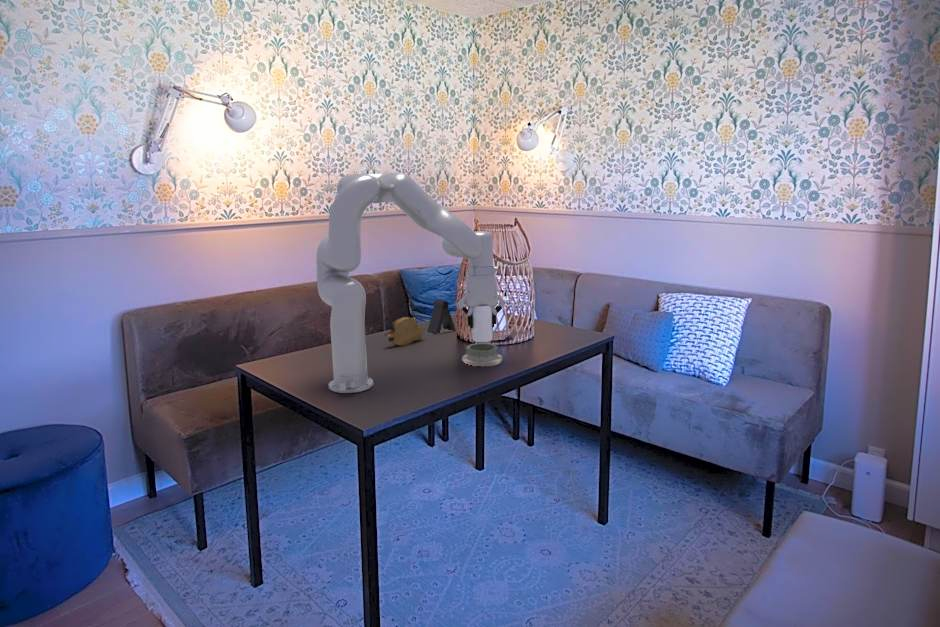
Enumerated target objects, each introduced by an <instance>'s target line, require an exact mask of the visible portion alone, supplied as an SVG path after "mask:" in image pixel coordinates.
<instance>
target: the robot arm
mask: <svg viewBox="0 0 940 627" xmlns="http://www.w3.org/2000/svg"><path fill="white" fill-rule="evenodd" d="M336 192H337V195H336V196H335V198H334V200H333V202H332V204H331V207H330V210H329V213H328V214H329V215H328V236H326V237H325V238H323V239H322V240H321V241H320V243H319V244H318V247H317V248H316V249H317V250H316V257H315V258H316V282H317V283H316V284H317V286H316V287H317V294H318V296H319V297H320V299H321V300H322V302H323V303H325V304H326V305H327V306H330V307H331V310H330V311H331V313H330V320H329V321H330V322H329V324H330V325H329V327H330V328H329V330H330V340H331V357H332V359H331V360H332V372H333V379H332V380H331V381H329V382H328V389H329V390H330V391H332V392H333V393H339V394H353V393H360V392H364V391H367V390H369V389H371V388H372V387H373V386H374V379H373V378H371V377H368V362H367V357H368V356H367V342H366V341H367V340H366V338H367V337H366V320H365V317H366V316H365V315H366V314H365V313H366V305H367V295H366V294H367V293H366V289H365V288H364V286H363V285H362V283H361V282H359V281H358V280H357V279H355V278H353V277H350V272H353V271H355V270H356V269H358V267H359V265H360V264H361V261H362V260H361V259H362V246H361V243H362V242H361V226H362V225H361V224H362V223H361V222H362V217H363V214H364V213H365V211H366V209H368V208H369V206H370V205H372V204H379V203H380V204H381V203H393V204H394V205H396V207H397V208H399V209H400V210H401V211H402V212H403V213H404V214H405V215H406V216H407V217H409V218H410V219H411V220H412V221H413V222H414V223H415V224H416V225H417V226H418V227H420V228H422V229H423V230H426V231H427V232H430V233H432V234H435V235H437V236H439V237H440V238H443V239H442V242H441V246H442V247H441V248H442V250H443V251H444V252H445V253H446V254H447V255H449V256H452V257H456V258H461V259H465V260H468V274H467V275H466V278H465V288H464V290H465V291H464V295H463V297H462V298H461V299H460V300H458V302H457V303H456V305H457V308H459V309H460V310H461V311H463V313H464V314H466V316H467V326H469V327H470V329H472V328H473V316H472V311H473V309H474V307H477V305H479V306H484V305H488V306H489V307H491V309H492V327H494V324H496V315H497V313H498V312H499V311H500V310H501V309H502V307H503V308H504V307H505V306H506V304H507V301H506V300H504V299H503V297H501V296H500V294H499V293H498V284H497V277H496V274H495V272H498V270H499V269H498V266H494V247H493V246H494V242H493V240H494V238H493V233H492V232H491V231H488V230H487V231H486V230H478V231H477V230H476V231H474V230H473V229H471V227H470V226H469V225H468V224H466V223H465V221H463V220H461V218H459V217H458V216H457V215H454V214H453V213H452V212H450V211H449V210H448V209H446V207H445V208H444V207H443V206H442V205H440V204H439V203H438V202H437V201H436V200H434V198H433V197H431V196H430V195H429V193H427V192H426V190H424V189H423V188H422V187H421V186H420V185H419V184H418V183H417V182H416V181H415V180H414V179H413V178H412V177H411V176H409V175H407V174H406V173H404V172H383V173H382V172H381V173H380V172H379V173H348V174H346V175H344V176H342V177H341V178H340V179H339V180H338V183H337V185H336ZM464 303H465V304H466V306H467V307H466V306H465V305H464ZM498 303H500V304H499V305H498V306H497V307H496V308H495V307H494V306H496V305H497V304H498Z"/></svg>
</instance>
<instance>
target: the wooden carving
mask: <svg viewBox="0 0 940 627" xmlns="http://www.w3.org/2000/svg"><path fill="white" fill-rule="evenodd" d="M418 324H419V323H418V320H417V318H416V317H414V316H412V317H409V316H403V317H400V318H398V319H396V320H395V321H392V322H391V324H390V331H389V332H386V333H385V332H384V336H386V337H388V339H387V340H388V341H389V342H390V343H391V344H394V345H397V346H400V347H401V346H403V345H404V346H407V345H410V344H411V343H413V342H414V341H415V340H416V341H417V340H421V339H422V338H423V334H424V331H425V327H423V326H420V325H418ZM406 344H407V345H406Z"/></svg>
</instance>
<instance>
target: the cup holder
mask: <svg viewBox="0 0 940 627" xmlns="http://www.w3.org/2000/svg"><path fill="white" fill-rule="evenodd" d="M498 348H499V347H498V346H497V345H496V344H493V343H490V342H487V343H478V342H475V343H470V344H468V345H467V346H466V353H465V354H464V355H462V357H461V362H462V361H463V362H464V363H465V365H466V364H468V365H467V366H470V365H472V366H471V367H477V366H481V367H482V368H484V367H485V366H486V367H493V366H496V365H500V364H502V363H503V356H502V355H501V354H498V352H499V350H498ZM463 362H462V363H463ZM464 363H463V364H464Z"/></svg>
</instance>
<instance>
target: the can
mask: <svg viewBox="0 0 940 627" xmlns="http://www.w3.org/2000/svg"><path fill="white" fill-rule="evenodd" d="M472 316H473V328H471V329H472V330H471V332H472V333H471V334H472V336H471V337H472V341H473V342H474V343H490V342H493V341H492V339H493V327H492V309H491V307H489V306H488V305H484V306H479V305H477V307H474V309H473V311H472Z"/></svg>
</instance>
